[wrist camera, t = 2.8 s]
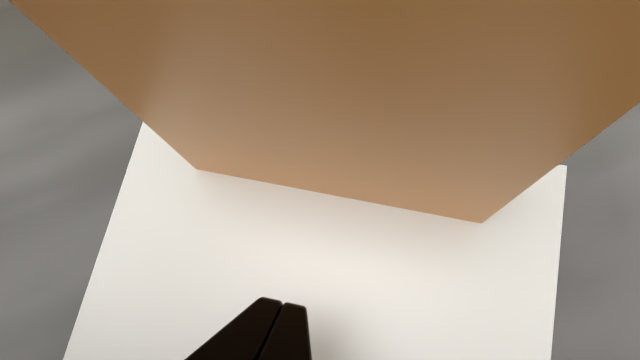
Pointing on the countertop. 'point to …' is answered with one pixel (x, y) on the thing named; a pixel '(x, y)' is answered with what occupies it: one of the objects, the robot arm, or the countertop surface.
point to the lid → (344, 166)
